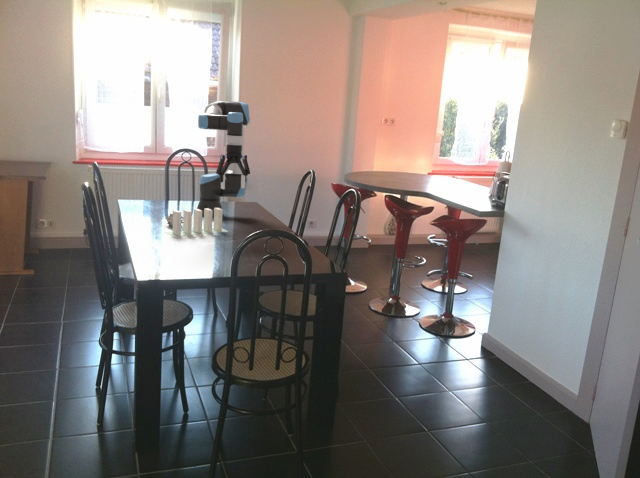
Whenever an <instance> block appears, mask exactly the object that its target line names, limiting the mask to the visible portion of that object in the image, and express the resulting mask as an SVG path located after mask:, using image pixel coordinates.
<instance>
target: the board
mask: <svg viewBox="0 0 640 478" xmlns="http://www.w3.org/2000/svg"><path fill="white" fill-rule="evenodd" d="M193 230H194V229H192V233H191V234H186V233H184V232H183V230H181V235H176V234H174V233H173V231H169V232H168V231H167V232H164V233H165V234H167V235H169V236H170V237H182V236H183V237H184V236H195V235H207V234H217V233H228V232H230V231H229V230H227V229H224V228H222V231H216V230H214V227H212V232H207V231H204V228H203V229H202V233H197V232H195V231H193Z"/></svg>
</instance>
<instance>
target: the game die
mask: <svg viewBox="0 0 640 478" xmlns="http://www.w3.org/2000/svg"><path fill="white" fill-rule="evenodd" d="M182 217H183V216H181V224H183V220H182ZM164 219H166V220H167V225H168V226H169V227H172V228H173V213H169V216H168V217H164Z"/></svg>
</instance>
